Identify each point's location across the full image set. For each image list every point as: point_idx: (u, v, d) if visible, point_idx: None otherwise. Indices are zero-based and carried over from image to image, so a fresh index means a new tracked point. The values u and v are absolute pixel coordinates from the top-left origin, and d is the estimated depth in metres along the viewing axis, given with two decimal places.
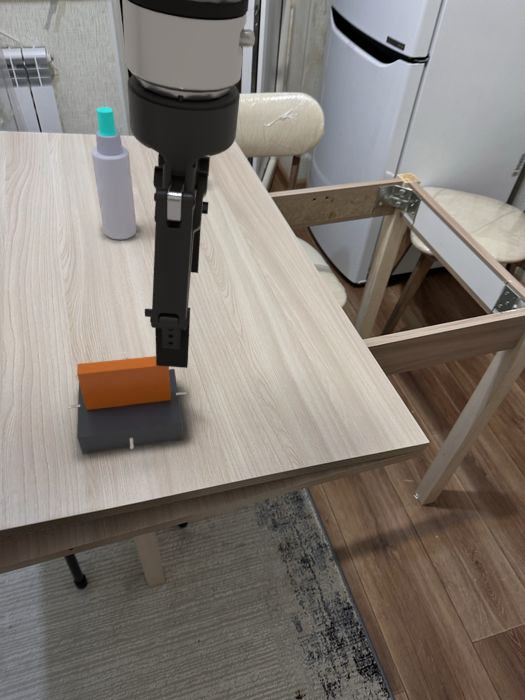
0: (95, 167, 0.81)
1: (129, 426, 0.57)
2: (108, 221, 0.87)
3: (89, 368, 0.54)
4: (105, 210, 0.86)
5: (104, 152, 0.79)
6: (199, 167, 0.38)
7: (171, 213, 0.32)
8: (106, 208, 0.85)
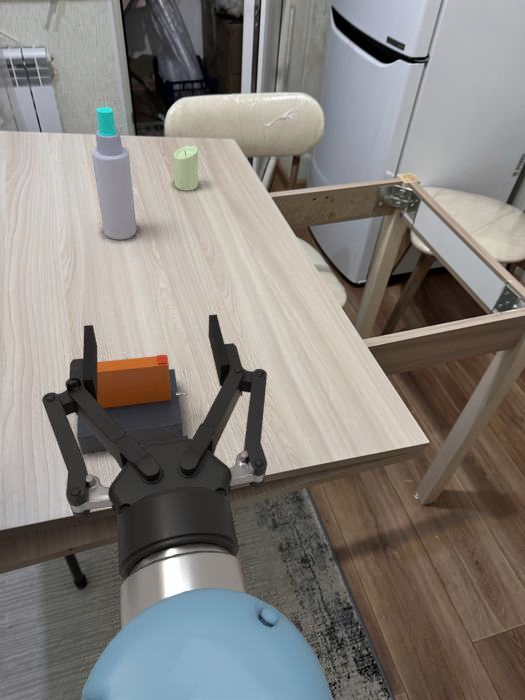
0: (95, 167, 0.81)
1: (129, 426, 0.57)
2: (108, 221, 0.87)
3: None
4: (105, 210, 0.86)
5: (104, 152, 0.79)
6: None
7: None
8: (106, 209, 0.85)
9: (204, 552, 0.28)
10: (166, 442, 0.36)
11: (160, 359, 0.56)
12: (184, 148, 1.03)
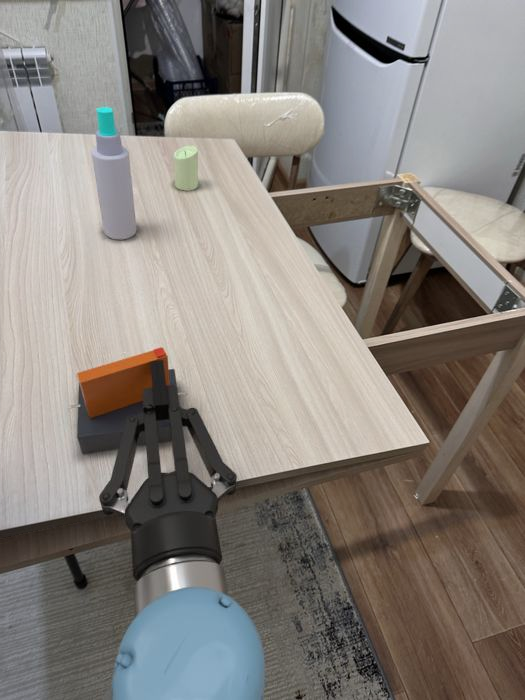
0: (95, 167, 0.81)
1: None
2: (108, 221, 0.87)
3: (90, 374, 0.54)
4: (105, 210, 0.86)
5: (104, 152, 0.79)
6: None
7: None
8: (106, 209, 0.85)
9: (195, 561, 0.38)
10: (168, 474, 0.46)
11: (158, 352, 0.57)
12: (184, 148, 1.03)
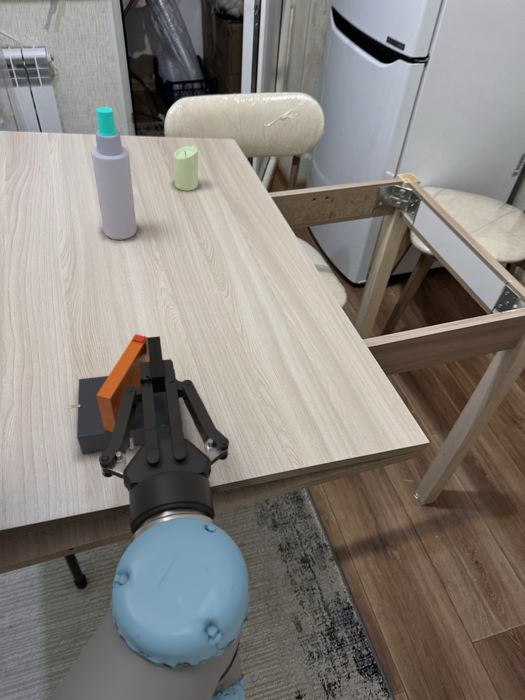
0: (95, 167, 0.81)
1: None
2: (108, 221, 0.87)
3: (109, 388, 0.52)
4: (105, 210, 0.86)
5: (104, 152, 0.79)
6: None
7: None
8: (106, 209, 0.85)
9: (189, 513, 0.41)
10: (164, 439, 0.49)
11: (138, 338, 0.58)
12: (184, 148, 1.03)
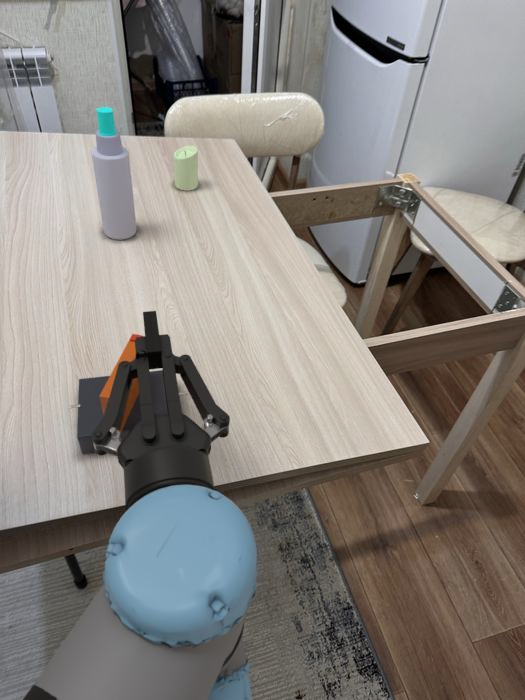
0: (95, 167, 0.81)
1: (129, 426, 0.57)
2: (108, 221, 0.87)
3: (111, 388, 0.52)
4: (105, 210, 0.86)
5: (104, 152, 0.79)
6: None
7: None
8: (106, 209, 0.85)
9: None
10: (161, 415, 0.46)
11: None
12: (184, 148, 1.03)
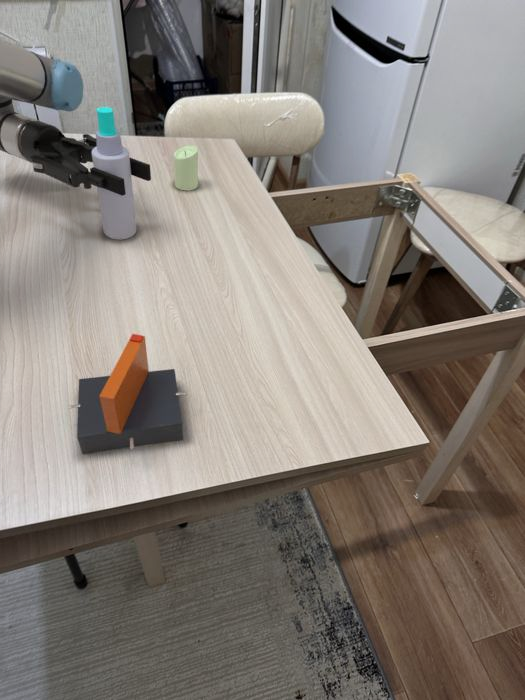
0: (95, 167, 0.81)
1: (129, 426, 0.57)
2: (108, 221, 0.87)
3: (111, 388, 0.52)
4: (105, 210, 0.86)
5: (104, 151, 0.79)
6: None
7: None
8: (106, 209, 0.85)
9: (22, 123, 0.85)
10: (71, 150, 0.85)
11: (136, 338, 0.58)
12: (184, 148, 1.03)
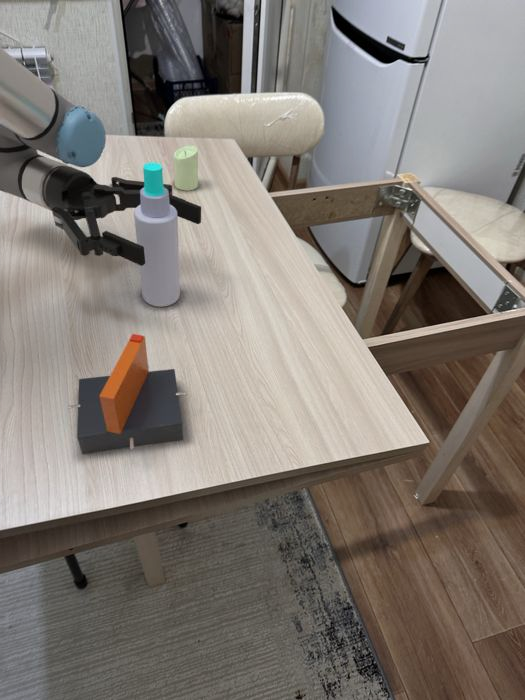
0: (138, 230, 0.69)
1: (129, 426, 0.57)
2: (149, 288, 0.75)
3: (111, 388, 0.52)
4: (147, 276, 0.74)
5: (150, 214, 0.67)
6: None
7: None
8: (148, 275, 0.73)
9: (47, 169, 0.73)
10: (105, 201, 0.73)
11: (136, 338, 0.58)
12: (184, 148, 1.03)
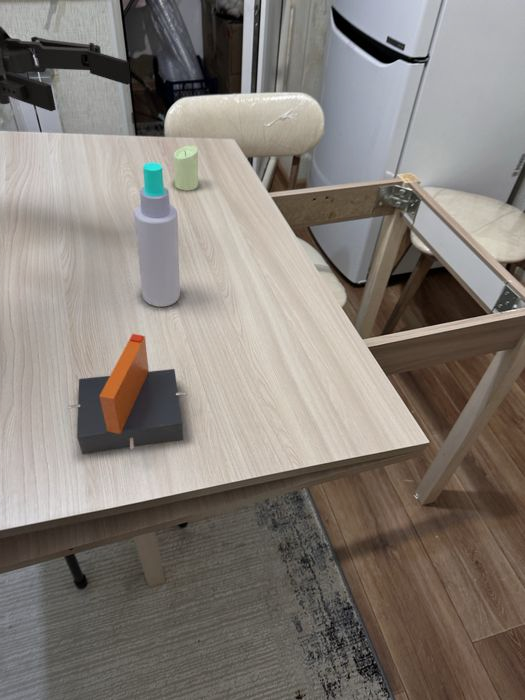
0: (138, 230, 0.69)
1: (129, 426, 0.57)
2: (149, 288, 0.75)
3: (111, 388, 0.52)
4: (147, 276, 0.74)
5: (150, 214, 0.67)
6: None
7: None
8: (148, 275, 0.73)
9: None
10: (18, 53, 0.64)
11: (136, 338, 0.58)
12: (184, 148, 1.03)
